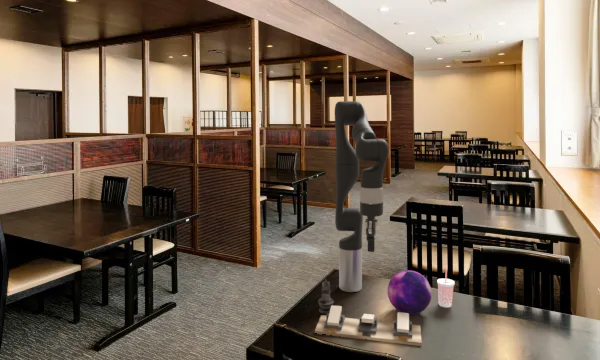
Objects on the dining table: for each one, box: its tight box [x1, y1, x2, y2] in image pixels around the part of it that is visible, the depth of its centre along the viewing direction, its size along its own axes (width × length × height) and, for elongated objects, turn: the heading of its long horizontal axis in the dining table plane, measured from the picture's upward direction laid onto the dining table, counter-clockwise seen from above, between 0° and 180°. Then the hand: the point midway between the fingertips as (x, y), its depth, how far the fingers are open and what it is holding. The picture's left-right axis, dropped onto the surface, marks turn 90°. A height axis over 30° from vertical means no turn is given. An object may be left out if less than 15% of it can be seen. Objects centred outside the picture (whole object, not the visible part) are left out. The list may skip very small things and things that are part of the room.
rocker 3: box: [396, 311, 410, 333], centre depth 129 cm, size 8×4×1 cm, turn 165°
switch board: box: [314, 313, 423, 347], centre depth 131 cm, size 11×33×4 cm, turn 75°
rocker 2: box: [361, 313, 376, 323], centre depth 132 cm, size 8×4×1 cm, turn 166°
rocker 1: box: [327, 304, 343, 326], centre depth 134 cm, size 8×4×1 cm, turn 165°
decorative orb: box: [387, 270, 433, 315], centre depth 143 cm, size 15×15×15 cm
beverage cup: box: [436, 267, 456, 308], centre depth 148 cm, size 6×6×14 cm
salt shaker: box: [317, 278, 335, 315], centre depth 145 cm, size 6×6×12 cm
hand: (371, 251), depth 135 cm, fingers closed
